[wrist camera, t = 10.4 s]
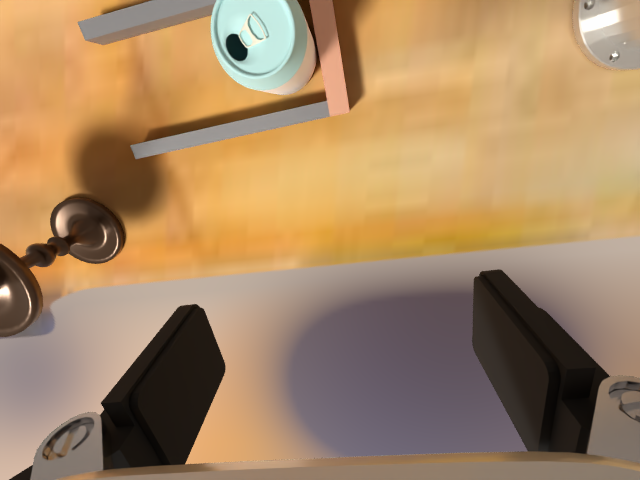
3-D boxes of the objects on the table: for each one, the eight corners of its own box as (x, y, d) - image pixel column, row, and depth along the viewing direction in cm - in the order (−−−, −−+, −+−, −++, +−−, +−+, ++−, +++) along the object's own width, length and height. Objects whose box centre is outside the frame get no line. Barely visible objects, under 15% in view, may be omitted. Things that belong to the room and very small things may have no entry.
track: (325, -38, 28) (324, -53, 26) (348, 111, 33) (349, 112, 31) (96, 28, 32) (73, 20, 29) (148, 155, 36) (133, 159, 34)
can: (305, 104, 33) (288, 103, 22) (242, 82, 33) (193, 69, 22) (326, 30, 30) (318, -13, 20) (257, 5, 30) (210, -54, 19)
